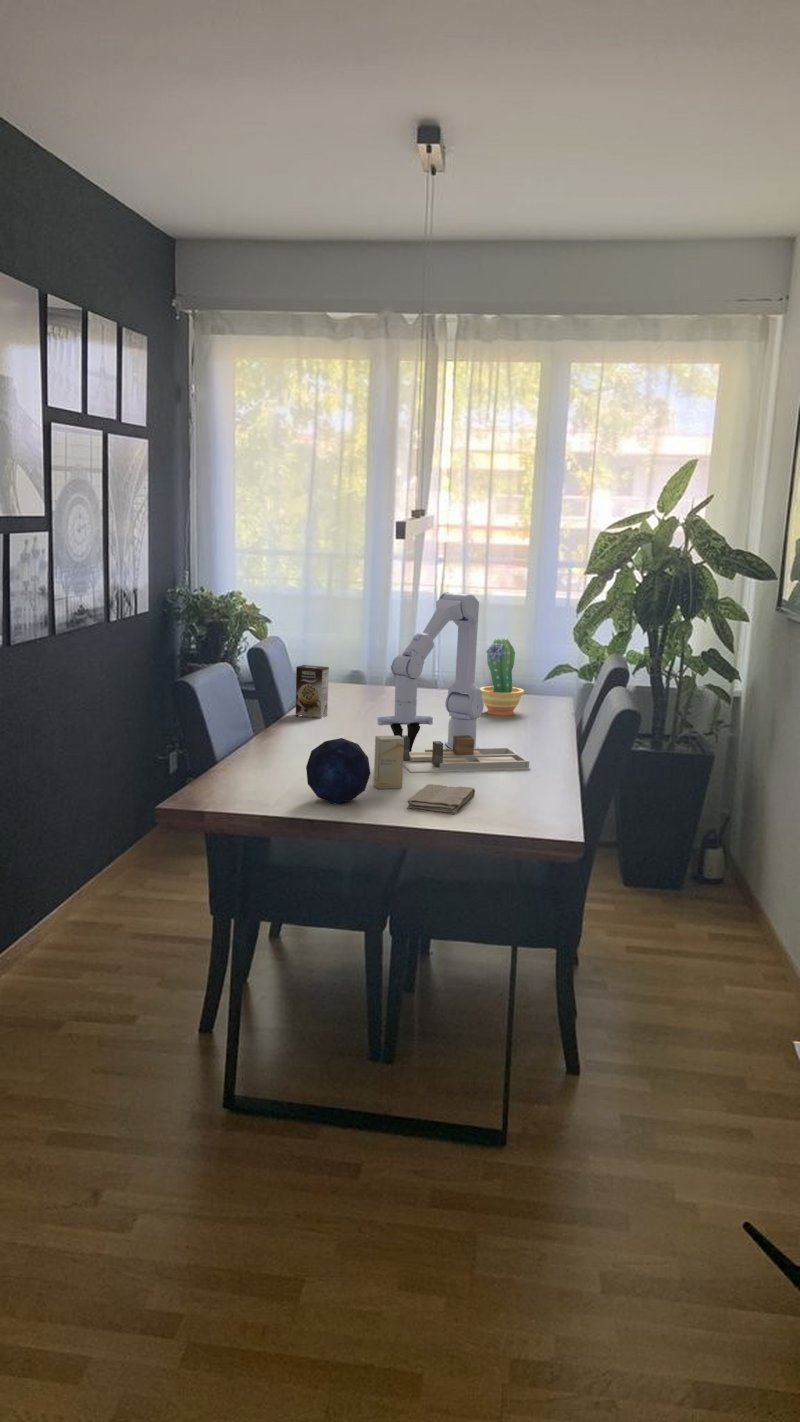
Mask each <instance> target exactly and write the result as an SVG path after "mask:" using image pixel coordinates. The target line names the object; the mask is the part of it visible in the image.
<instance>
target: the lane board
mask: <svg viewBox="0 0 800 1422" xmlns="http://www.w3.org/2000/svg"><path fill="white" fill-rule="evenodd" d="M447 751H453V749H451V748H443V752H447ZM474 751H479V752H480V753H481V754H483V755H452V756H443V758H465V759H467V760H468V761H469V762H457V763H440V766H434V765H433V764H432V761H411V760H410V759H409V760H403V767H404V768H406V770H407V771H408V772H409V773H411V774H412V773H416V774H417V773H445V772H446V773H447V772H448V773H449V772H451V773H452V772H453V773H454V772H478V771H479V772H480V771H482V772H483V771H485V772H486V771H520V770H523V771H524V770H531V767H530V761H529V760H528V759H527V758H525V757H524V756H522V755H521V754H519V753H517V752H516V751H515V750H514V749H512V748H511V747H508V746H507V747H479V748H474ZM424 752H433V748H428V749H427V748H425V749H424ZM480 757H513V758H514V759H515V760H517V761H496V762H476V761H475V758H480Z"/></svg>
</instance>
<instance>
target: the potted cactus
mask: <svg viewBox="0 0 800 1422" xmlns="http://www.w3.org/2000/svg"><path fill="white" fill-rule="evenodd" d="M485 653H486V662H487V665H488V667H489V671H490V674H491V675H490V676H491V681H492V685H489V686H481V687H479V688H480V689H481V690H482V699H483V703H484V706H485V707H486V709H487V711H486V713H488V714H489V715H493V716H512V715H514V714H515V712H514V710H515V709H516V708H517V706H518V705H519V704H520V701H521V698H522V696H524V695H525V690H524V689H522V688H520V687H514V686H513V679H512V678H513V673H512V671H513V668H514V665H515V657H516V652H515V649H514V647H513V645H512V644H511V641H509V639H508V638H507V639H505V638H502V639H500V638H497V639H494V640H493V642H492V643H491V644H490V646H488V649H486V651H485Z"/></svg>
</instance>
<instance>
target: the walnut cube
mask: <svg viewBox="0 0 800 1422" xmlns="http://www.w3.org/2000/svg"><path fill="white" fill-rule="evenodd" d="M453 753H455V754H456V755H473V754H474V738H472V737H471V736H470V735H464V736H453Z"/></svg>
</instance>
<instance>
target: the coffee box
mask: <svg viewBox="0 0 800 1422" xmlns="http://www.w3.org/2000/svg"><path fill="white" fill-rule="evenodd" d="M295 669H296V675H295V676H296V678H295V682H296V683H295V716H296V715H302V716H310V717H309V718H312V717H318V718H317V719H322V717H323V718H325V717H327V716H328V711H329V710H328V709H329V708H328V707H329V706H328V705H329V704H328V703H329V700H328V699H329V674H330V673H329V670H330V667H329V666H323V665H322V666H320V665H309V664H302V665H298V666H296V668H295ZM326 715H327V716H326ZM324 716H325V717H324Z"/></svg>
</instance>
